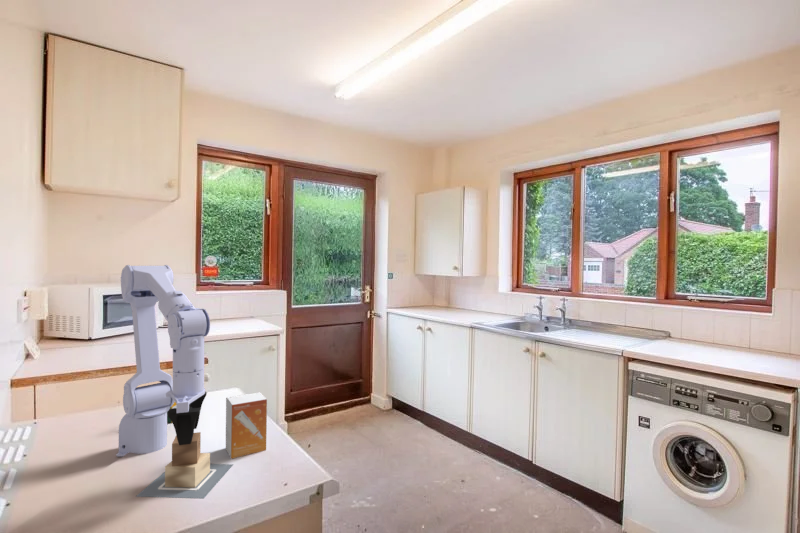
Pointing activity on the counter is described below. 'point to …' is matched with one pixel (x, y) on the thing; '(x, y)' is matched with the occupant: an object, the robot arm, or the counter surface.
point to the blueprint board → (199, 491)
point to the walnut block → (186, 451)
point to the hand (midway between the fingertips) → (188, 435)
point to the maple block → (187, 473)
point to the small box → (246, 424)
